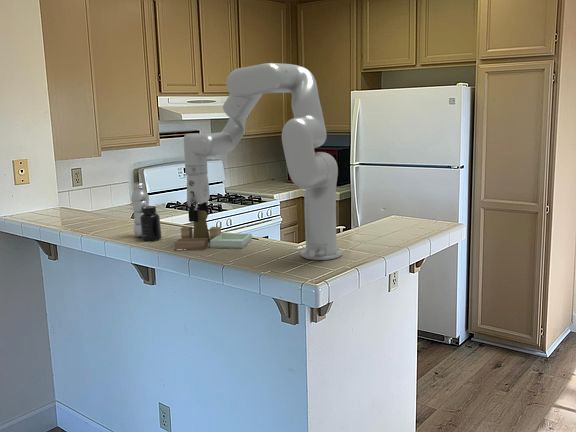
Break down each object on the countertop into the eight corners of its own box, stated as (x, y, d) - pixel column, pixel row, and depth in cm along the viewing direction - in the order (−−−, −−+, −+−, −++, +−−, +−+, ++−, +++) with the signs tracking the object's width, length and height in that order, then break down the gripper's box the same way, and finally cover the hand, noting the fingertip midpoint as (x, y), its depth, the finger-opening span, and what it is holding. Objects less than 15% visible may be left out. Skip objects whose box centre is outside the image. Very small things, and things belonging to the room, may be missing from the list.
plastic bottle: (139, 239, 207) (134, 184, 203) (131, 236, 212) (126, 183, 208) (155, 236, 211) (151, 182, 207) (147, 233, 216) (143, 181, 212)
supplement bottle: (151, 236, 211) (149, 204, 208) (165, 238, 207) (162, 205, 205) (138, 240, 205) (135, 208, 203) (152, 242, 201) (149, 209, 199)
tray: (242, 248, 188) (242, 241, 187) (210, 247, 190) (209, 240, 190) (251, 240, 199) (251, 233, 198) (221, 240, 201) (220, 233, 201)
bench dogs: (218, 242, 197) (217, 228, 196) (181, 242, 200) (180, 228, 199) (221, 240, 200) (220, 226, 199) (185, 240, 203) (184, 226, 202)
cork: (206, 243, 196) (204, 212, 194) (190, 243, 198) (188, 212, 196) (212, 239, 202) (210, 209, 200) (196, 239, 203) (194, 209, 201)
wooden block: (204, 251, 188) (204, 242, 187) (175, 251, 189) (174, 242, 188) (208, 246, 194) (208, 238, 193) (179, 247, 195) (179, 238, 194)
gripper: (197, 173, 186) (200, 224, 190) (215, 167, 203) (217, 214, 206) (176, 173, 188) (179, 223, 191) (195, 166, 204) (197, 213, 208)
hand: (198, 218), depth 199 cm, fingers open, 9 cm apart
